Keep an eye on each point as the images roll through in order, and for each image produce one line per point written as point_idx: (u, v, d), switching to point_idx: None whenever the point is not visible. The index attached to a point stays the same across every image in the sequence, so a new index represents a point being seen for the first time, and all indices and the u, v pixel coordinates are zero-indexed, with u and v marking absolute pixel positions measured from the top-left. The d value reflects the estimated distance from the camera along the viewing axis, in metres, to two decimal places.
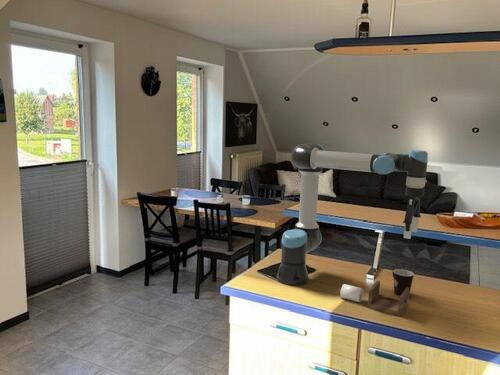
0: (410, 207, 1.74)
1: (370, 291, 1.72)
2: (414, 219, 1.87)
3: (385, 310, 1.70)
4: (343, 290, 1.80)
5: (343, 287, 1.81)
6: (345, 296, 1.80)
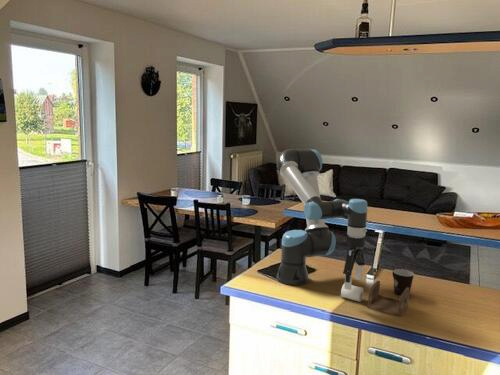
0: (349, 258, 1.71)
1: (370, 291, 1.72)
2: (358, 267, 1.84)
3: (385, 310, 1.70)
4: None
5: (344, 285, 1.82)
6: (345, 294, 1.80)
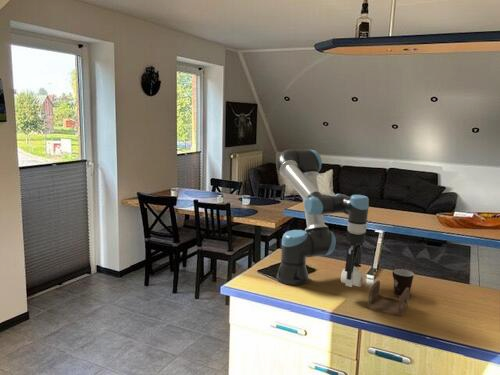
0: (350, 257, 1.73)
1: (370, 291, 1.72)
2: (354, 268, 1.82)
3: (385, 310, 1.70)
4: (344, 273, 1.80)
5: (344, 270, 1.81)
6: (345, 279, 1.79)
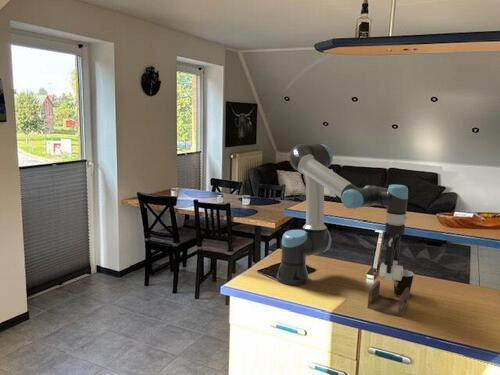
0: (390, 249, 1.65)
1: (370, 291, 1.72)
2: (393, 262, 1.75)
3: (385, 310, 1.70)
4: (383, 266, 1.72)
5: (383, 264, 1.73)
6: None
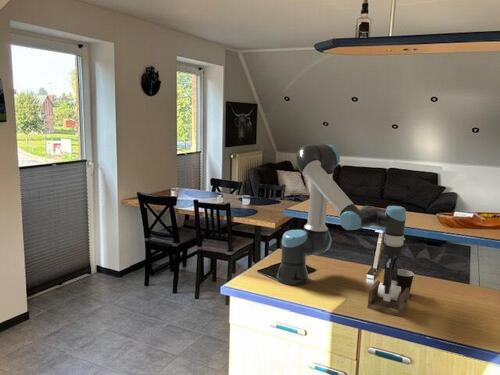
0: (388, 270, 1.67)
1: (370, 291, 1.72)
2: (391, 282, 1.76)
3: (385, 310, 1.70)
4: (381, 287, 1.73)
5: (381, 284, 1.74)
6: (383, 293, 1.72)
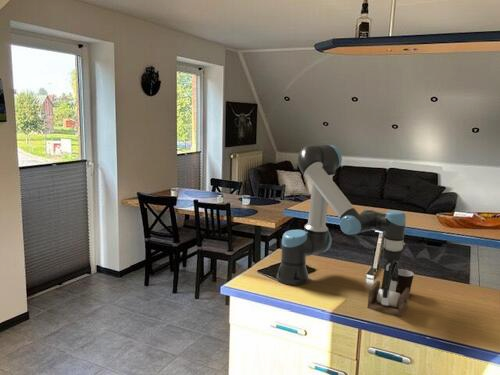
0: (387, 273, 1.66)
1: (370, 291, 1.72)
2: (392, 283, 1.78)
3: (385, 310, 1.70)
4: (380, 293, 1.74)
5: (380, 290, 1.75)
6: None
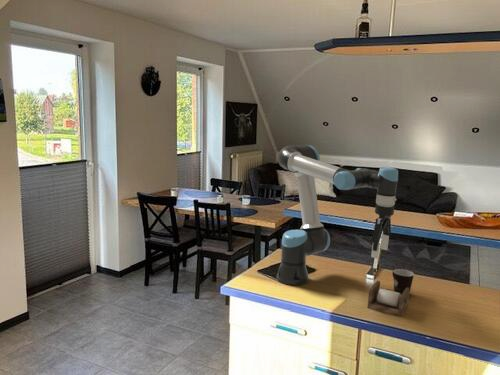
0: (378, 226, 1.70)
1: (370, 291, 1.72)
2: (384, 237, 1.83)
3: (385, 310, 1.70)
4: (380, 292, 1.74)
5: (380, 290, 1.75)
6: (382, 299, 1.73)
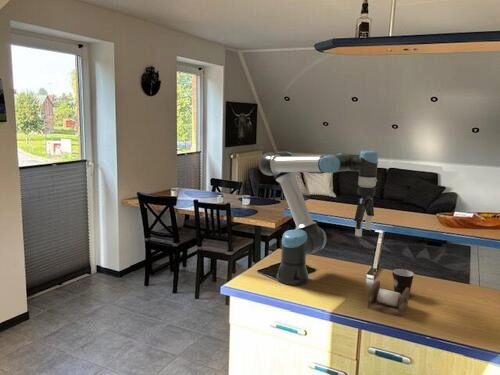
0: (360, 206, 1.80)
1: (370, 291, 1.72)
2: (368, 217, 1.93)
3: (385, 310, 1.70)
4: (381, 292, 1.74)
5: (381, 290, 1.75)
6: (382, 299, 1.73)
